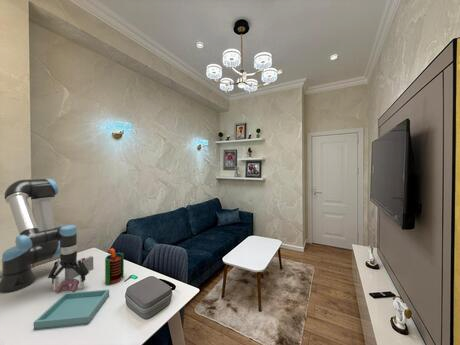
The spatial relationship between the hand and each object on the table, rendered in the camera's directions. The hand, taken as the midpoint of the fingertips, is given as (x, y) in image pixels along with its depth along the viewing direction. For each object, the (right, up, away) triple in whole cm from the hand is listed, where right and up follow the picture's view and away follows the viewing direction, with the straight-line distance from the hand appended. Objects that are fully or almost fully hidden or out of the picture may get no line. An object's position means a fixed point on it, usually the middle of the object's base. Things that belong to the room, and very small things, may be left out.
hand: (69, 287), depth 112 cm
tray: (+18, -1, -17) cm, 24 cm away
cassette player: (-6, -1, +16) cm, 18 cm away
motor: (+21, -1, +9) cm, 23 cm away
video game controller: (0, -1, -1) cm, 1 cm away
